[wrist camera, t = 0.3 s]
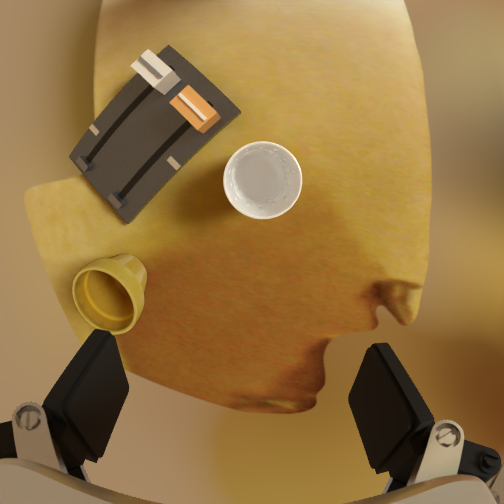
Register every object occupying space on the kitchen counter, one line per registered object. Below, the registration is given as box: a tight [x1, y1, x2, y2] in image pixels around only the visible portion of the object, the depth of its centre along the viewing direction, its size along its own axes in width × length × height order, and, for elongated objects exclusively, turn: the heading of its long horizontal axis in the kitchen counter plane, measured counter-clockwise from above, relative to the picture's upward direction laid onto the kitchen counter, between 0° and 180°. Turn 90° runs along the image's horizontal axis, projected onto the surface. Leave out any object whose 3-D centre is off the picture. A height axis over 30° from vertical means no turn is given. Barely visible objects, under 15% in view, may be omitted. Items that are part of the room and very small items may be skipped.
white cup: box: [223, 141, 302, 219], centre depth 31 cm, size 8×8×10 cm
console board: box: [69, 45, 241, 224], centre depth 32 cm, size 22×15×3 cm
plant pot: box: [72, 254, 147, 334], centre depth 36 cm, size 10×10×10 cm
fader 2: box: [169, 85, 221, 134], centre depth 29 cm, size 3×5×5 cm, turn 42°
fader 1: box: [131, 49, 181, 95], centre depth 27 cm, size 3×5×5 cm, turn 42°
